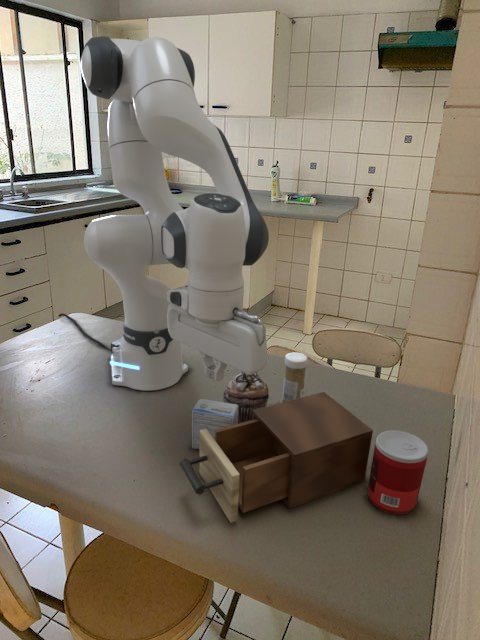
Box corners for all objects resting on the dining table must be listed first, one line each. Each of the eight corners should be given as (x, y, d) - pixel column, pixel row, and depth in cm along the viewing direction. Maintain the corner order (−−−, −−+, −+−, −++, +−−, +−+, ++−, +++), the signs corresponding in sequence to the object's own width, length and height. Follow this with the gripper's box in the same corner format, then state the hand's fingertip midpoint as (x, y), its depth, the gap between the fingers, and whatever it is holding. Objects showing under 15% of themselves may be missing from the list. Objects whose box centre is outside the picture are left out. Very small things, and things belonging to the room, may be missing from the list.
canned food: (426, 510, 75) (439, 455, 71) (383, 520, 73) (394, 463, 69) (398, 479, 82) (409, 426, 78) (358, 486, 80) (367, 433, 75)
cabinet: (289, 509, 74) (294, 455, 70) (249, 458, 85) (252, 409, 81) (364, 481, 81) (373, 430, 77) (318, 437, 92) (324, 391, 88)
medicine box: (237, 442, 90) (239, 403, 87) (232, 456, 86) (233, 416, 83) (198, 435, 91) (199, 397, 88) (191, 449, 87) (191, 409, 84)
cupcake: (256, 400, 104) (258, 360, 101) (274, 423, 96) (277, 381, 92) (215, 406, 101) (216, 365, 98) (230, 431, 93) (232, 388, 89)
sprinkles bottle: (306, 413, 100) (312, 358, 95) (289, 419, 98) (295, 362, 93) (292, 403, 104) (297, 349, 99) (276, 409, 101) (280, 354, 96)
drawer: (202, 533, 68) (203, 485, 65) (174, 480, 78) (173, 436, 75) (309, 494, 76) (314, 450, 73) (271, 450, 86) (274, 410, 83)
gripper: (279, 313, 69) (273, 393, 74) (188, 282, 82) (188, 352, 87) (251, 324, 65) (247, 408, 70) (160, 289, 78) (162, 363, 83)
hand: (214, 377), depth 79 cm, fingers closed
